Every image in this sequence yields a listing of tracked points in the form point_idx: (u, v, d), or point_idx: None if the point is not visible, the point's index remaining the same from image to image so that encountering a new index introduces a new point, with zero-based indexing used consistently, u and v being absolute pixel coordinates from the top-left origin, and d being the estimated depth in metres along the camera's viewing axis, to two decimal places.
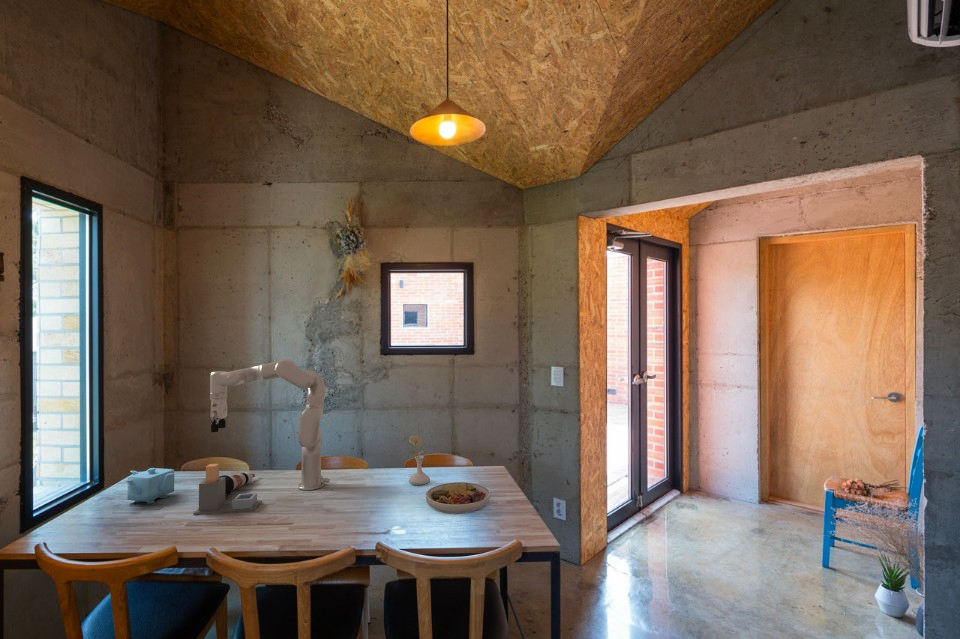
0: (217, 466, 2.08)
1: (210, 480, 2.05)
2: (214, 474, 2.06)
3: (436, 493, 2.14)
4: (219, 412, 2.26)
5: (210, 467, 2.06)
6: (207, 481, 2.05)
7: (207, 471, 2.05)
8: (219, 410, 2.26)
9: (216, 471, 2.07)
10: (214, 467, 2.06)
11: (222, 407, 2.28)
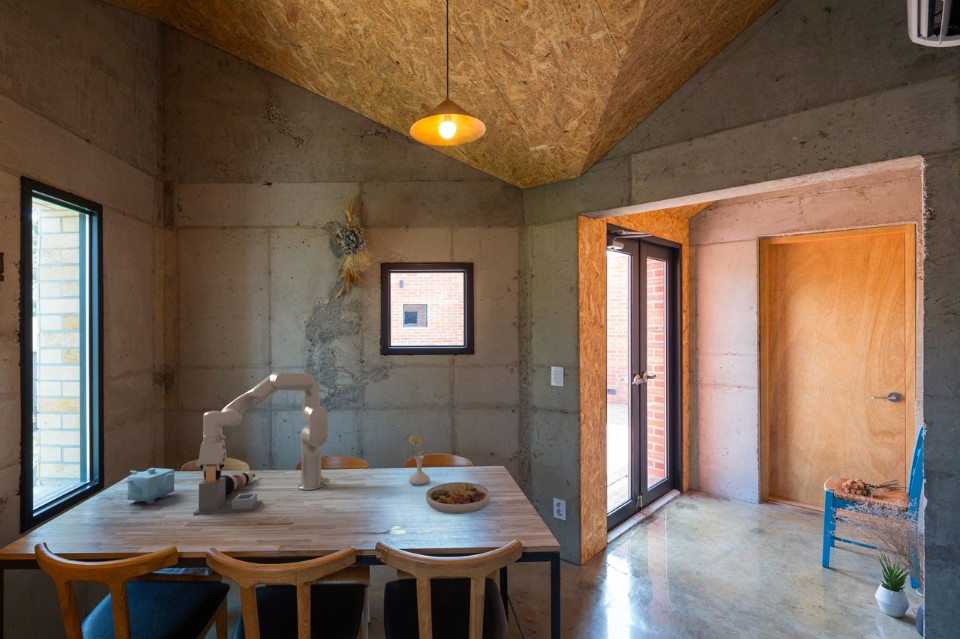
0: None
1: (210, 480, 2.05)
2: (214, 474, 2.06)
3: (436, 493, 2.14)
4: None
5: (210, 467, 2.06)
6: (207, 481, 2.05)
7: (207, 471, 2.05)
8: (225, 451, 2.10)
9: None
10: (214, 467, 2.06)
11: None
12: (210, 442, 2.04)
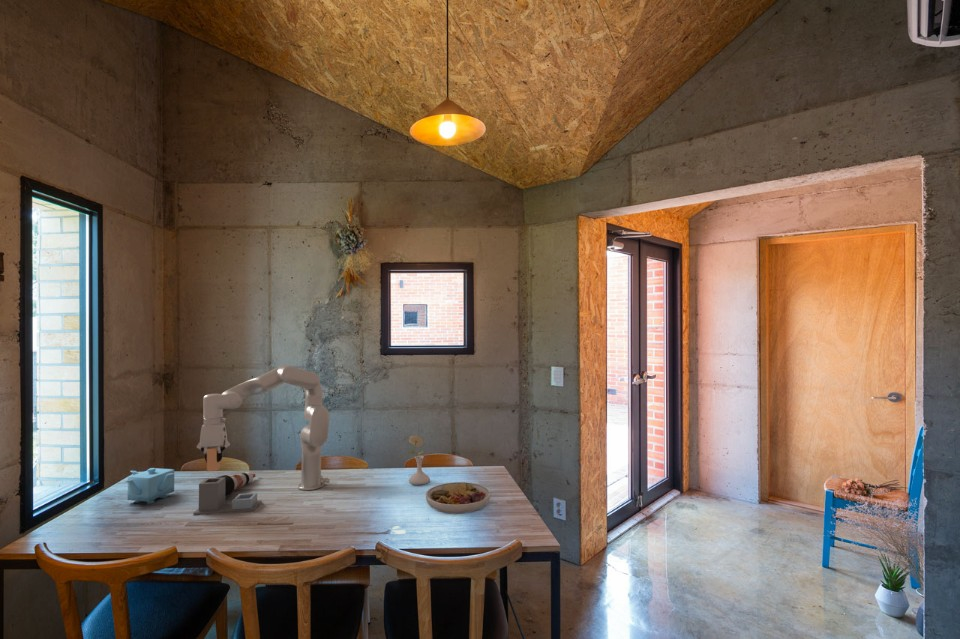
0: None
1: (211, 462, 2.06)
2: (215, 456, 2.06)
3: (436, 493, 2.14)
4: (226, 436, 2.11)
5: (211, 449, 2.06)
6: (208, 463, 2.06)
7: (208, 453, 2.06)
8: (226, 434, 2.11)
9: None
10: (215, 449, 2.06)
11: None
12: (210, 424, 2.05)
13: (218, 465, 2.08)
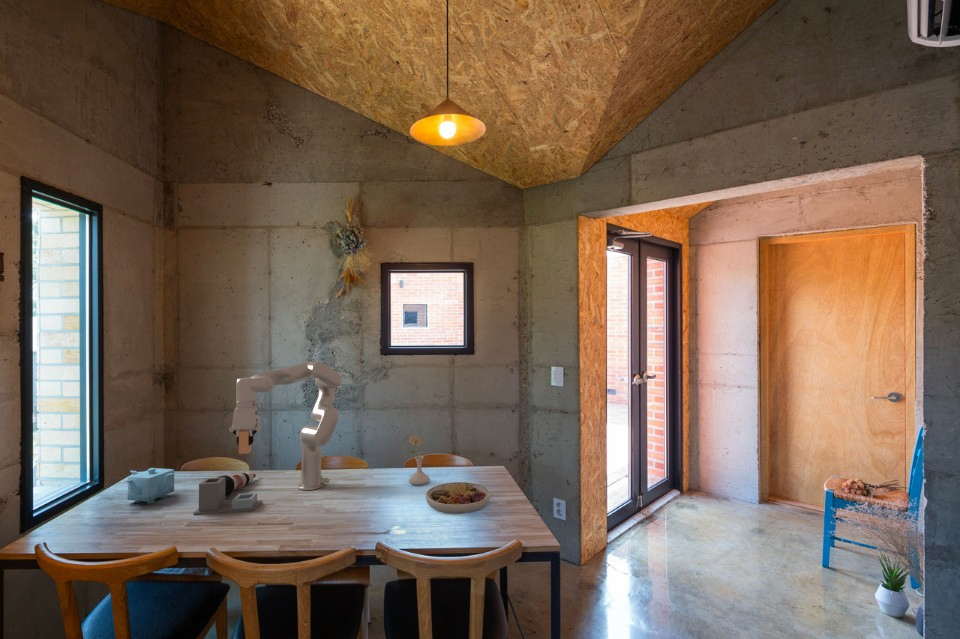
0: None
1: (243, 445, 2.08)
2: (247, 439, 2.08)
3: (436, 493, 2.14)
4: None
5: (243, 432, 2.08)
6: (240, 446, 2.08)
7: (240, 436, 2.08)
8: None
9: None
10: (247, 432, 2.08)
11: None
12: (243, 407, 2.07)
13: (249, 448, 2.10)
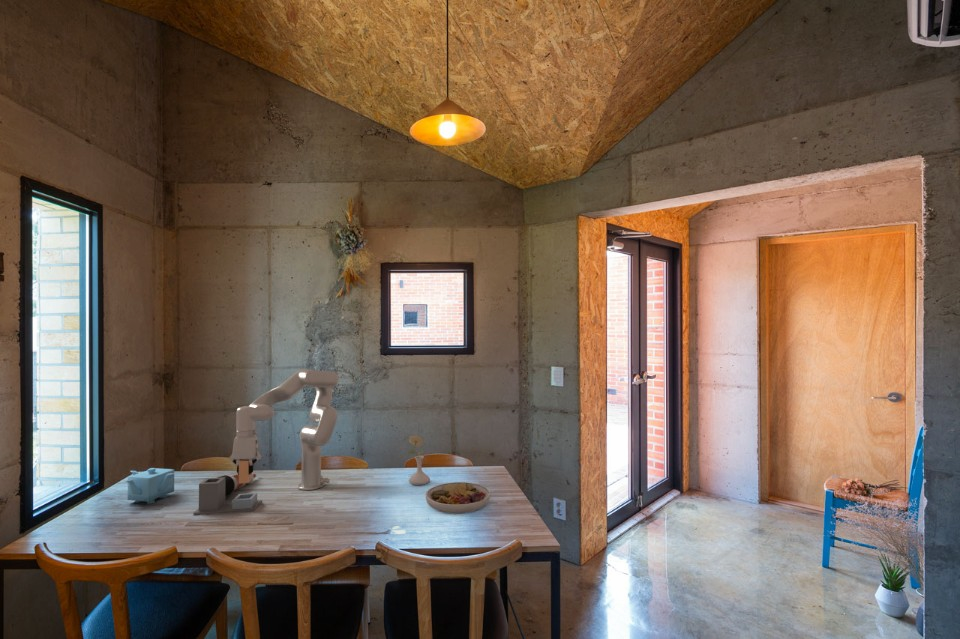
0: None
1: (243, 475, 2.07)
2: (247, 469, 2.08)
3: (436, 493, 2.14)
4: None
5: (243, 462, 2.08)
6: (240, 475, 2.07)
7: (240, 466, 2.07)
8: None
9: None
10: (247, 462, 2.08)
11: None
12: (243, 437, 2.06)
13: (249, 477, 2.10)
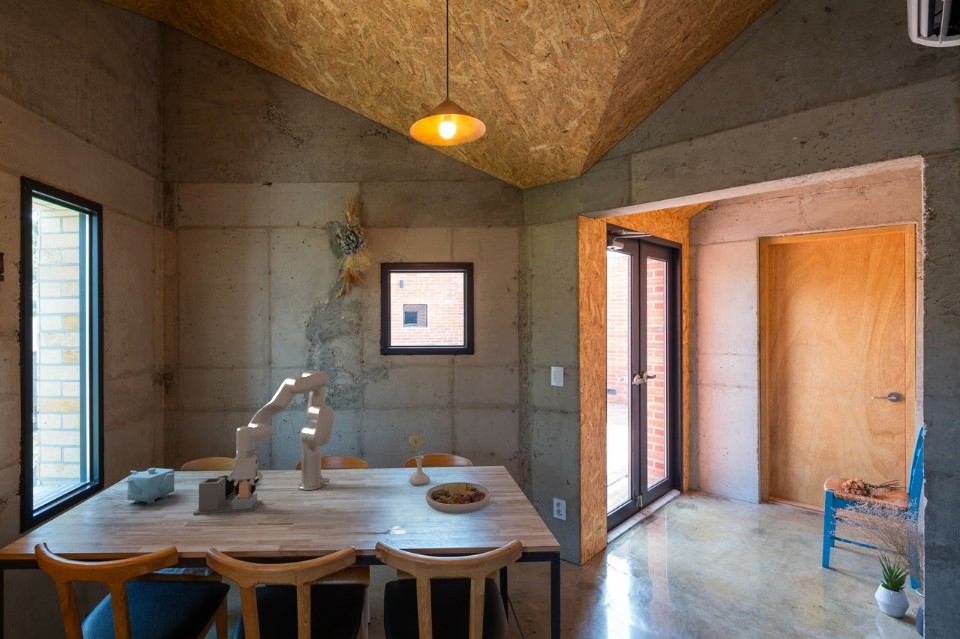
0: (250, 484, 2.10)
1: (243, 498, 2.07)
2: (247, 492, 2.08)
3: (436, 493, 2.14)
4: None
5: (243, 485, 2.07)
6: None
7: (240, 489, 2.07)
8: None
9: (249, 489, 2.09)
10: (247, 485, 2.08)
11: None
12: (243, 457, 2.06)
13: None
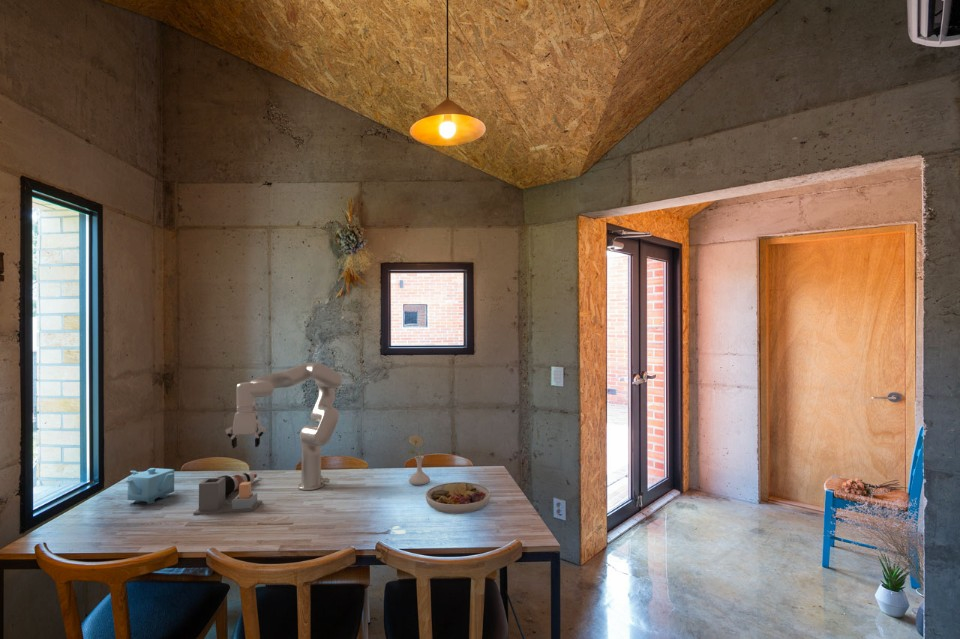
0: (250, 484, 2.10)
1: (243, 498, 2.07)
2: (247, 492, 2.08)
3: (436, 493, 2.14)
4: (258, 424, 2.13)
5: (243, 485, 2.07)
6: None
7: (240, 489, 2.07)
8: (258, 422, 2.13)
9: (249, 489, 2.09)
10: (247, 485, 2.08)
11: None
12: (244, 412, 2.07)
13: None
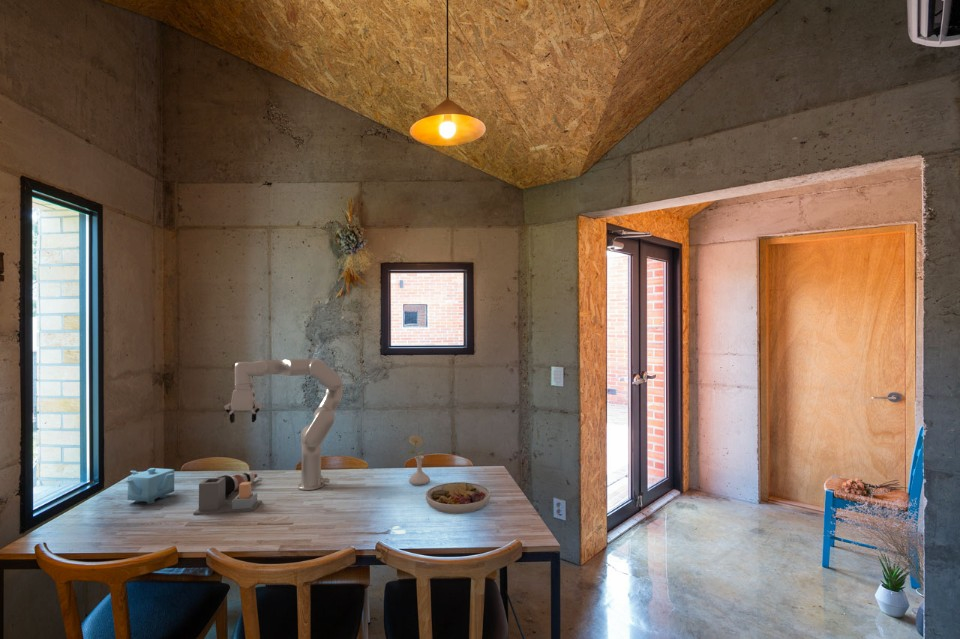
0: (250, 484, 2.10)
1: (243, 498, 2.07)
2: (247, 492, 2.08)
3: (436, 493, 2.14)
4: None
5: (243, 485, 2.07)
6: None
7: (240, 489, 2.07)
8: None
9: (249, 489, 2.09)
10: (247, 485, 2.08)
11: None
12: (241, 389, 2.20)
13: None
